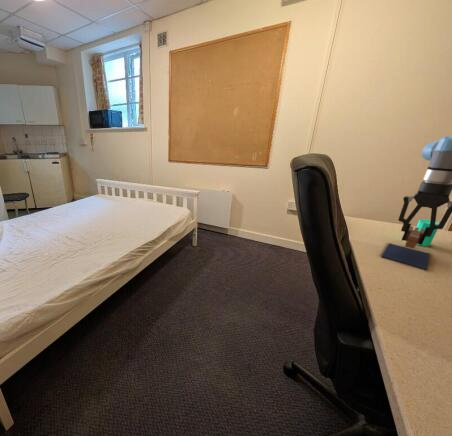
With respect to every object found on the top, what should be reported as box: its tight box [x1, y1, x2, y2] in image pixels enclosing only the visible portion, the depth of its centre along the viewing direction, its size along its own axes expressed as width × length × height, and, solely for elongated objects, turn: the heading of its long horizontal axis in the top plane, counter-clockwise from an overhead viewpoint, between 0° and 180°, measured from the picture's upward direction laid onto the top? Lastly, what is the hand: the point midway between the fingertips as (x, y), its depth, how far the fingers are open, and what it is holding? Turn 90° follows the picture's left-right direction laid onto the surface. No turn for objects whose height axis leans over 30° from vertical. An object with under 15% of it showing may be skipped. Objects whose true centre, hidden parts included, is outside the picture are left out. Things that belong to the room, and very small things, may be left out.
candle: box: [416, 218, 440, 247], centre depth 98 cm, size 6×6×12 cm
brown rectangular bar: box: [404, 225, 425, 250], centre depth 85 cm, size 14×4×4 cm, turn 129°
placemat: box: [381, 243, 430, 271], centre depth 90 cm, size 18×12×1 cm, turn 129°
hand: (411, 241), depth 86 cm, fingers closed on brown rectangular bar, 4 cm apart
